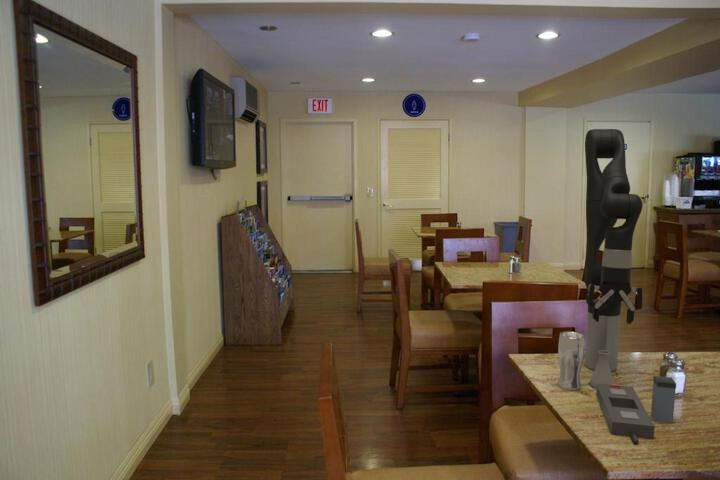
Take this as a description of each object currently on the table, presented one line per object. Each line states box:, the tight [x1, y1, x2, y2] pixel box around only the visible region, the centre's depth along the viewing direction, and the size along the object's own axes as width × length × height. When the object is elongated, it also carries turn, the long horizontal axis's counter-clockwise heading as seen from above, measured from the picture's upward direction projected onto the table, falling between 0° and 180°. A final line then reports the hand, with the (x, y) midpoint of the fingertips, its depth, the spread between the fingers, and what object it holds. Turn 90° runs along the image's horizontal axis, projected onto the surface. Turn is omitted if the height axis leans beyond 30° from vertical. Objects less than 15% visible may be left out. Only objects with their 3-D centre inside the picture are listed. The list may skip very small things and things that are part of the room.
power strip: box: [595, 383, 655, 445], centre depth 141 cm, size 28×9×4 cm, turn 166°
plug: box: [650, 375, 677, 424], centre depth 141 cm, size 4×4×10 cm
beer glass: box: [557, 331, 586, 391], centre depth 160 cm, size 7×7×15 cm
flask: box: [588, 350, 616, 389], centre depth 162 cm, size 7×7×10 cm
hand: (612, 322), depth 161 cm, fingers open, 8 cm apart
